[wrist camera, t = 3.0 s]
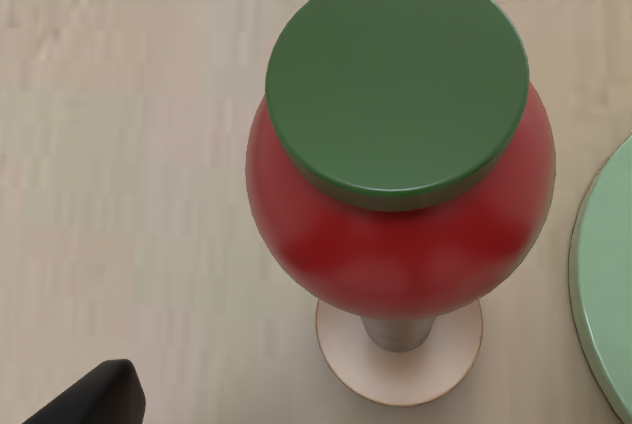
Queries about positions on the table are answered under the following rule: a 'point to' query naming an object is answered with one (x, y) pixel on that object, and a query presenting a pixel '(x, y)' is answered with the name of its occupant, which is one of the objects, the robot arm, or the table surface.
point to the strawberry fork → (400, 181)
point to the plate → (606, 279)
